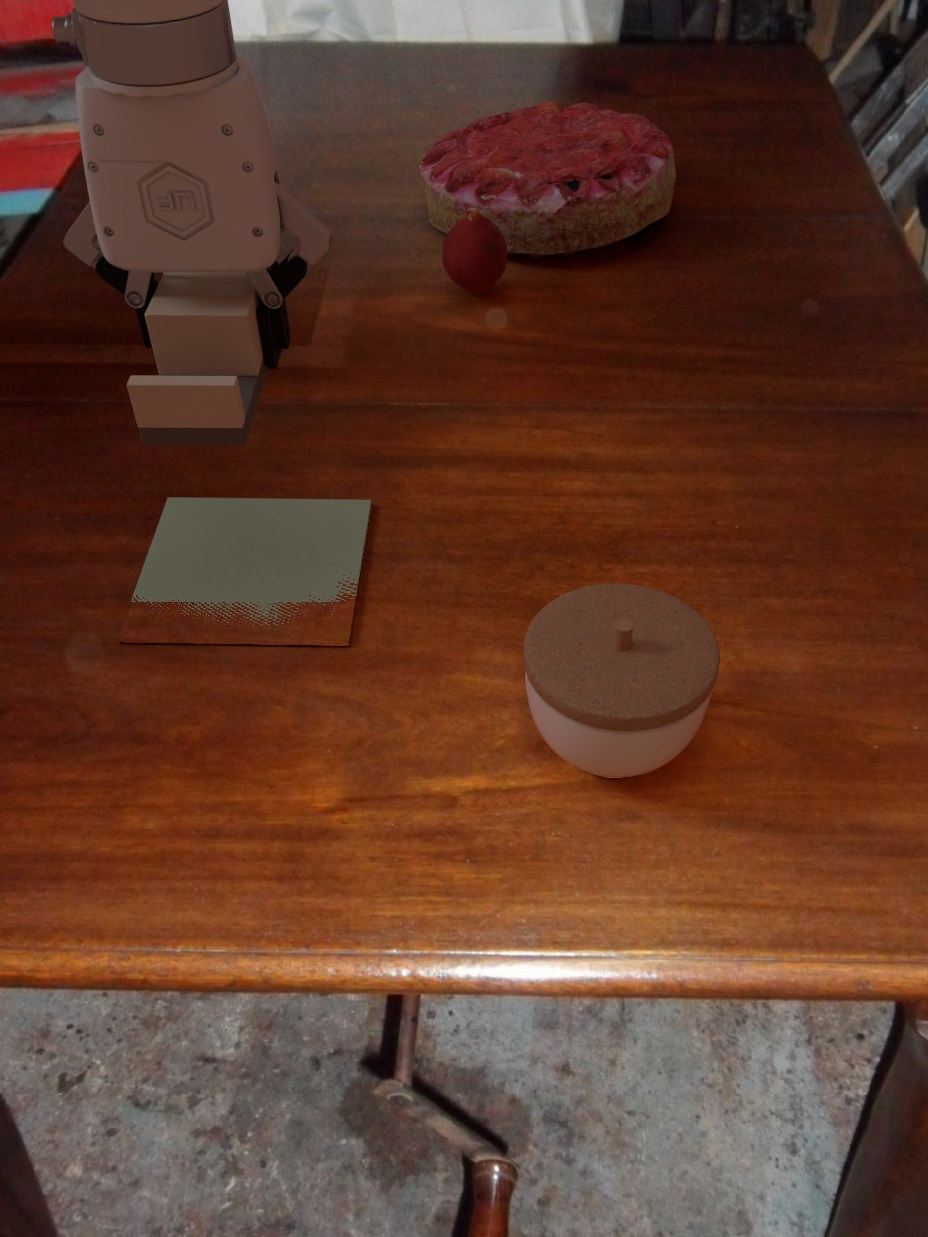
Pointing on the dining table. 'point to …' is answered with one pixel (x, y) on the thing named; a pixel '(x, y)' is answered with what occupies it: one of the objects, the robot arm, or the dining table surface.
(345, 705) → the dining table surface
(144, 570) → the mat
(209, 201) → the robot arm
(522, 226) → the cake
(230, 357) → the block with front tab
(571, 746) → the trinket box
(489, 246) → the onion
